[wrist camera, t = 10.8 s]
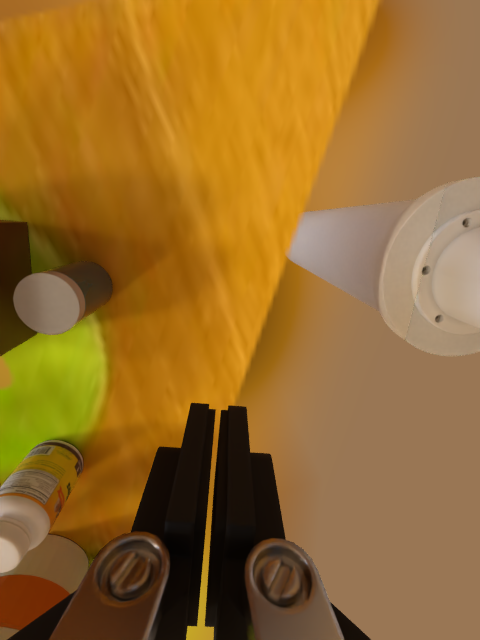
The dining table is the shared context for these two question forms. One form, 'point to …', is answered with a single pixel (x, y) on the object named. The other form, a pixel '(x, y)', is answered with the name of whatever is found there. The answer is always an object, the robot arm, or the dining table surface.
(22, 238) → the box
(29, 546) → the supplement bottle
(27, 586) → the reusable coffee cup
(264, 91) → the dining table surface
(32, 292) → the cylinder
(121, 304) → the dining table surface
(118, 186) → the dining table surface
